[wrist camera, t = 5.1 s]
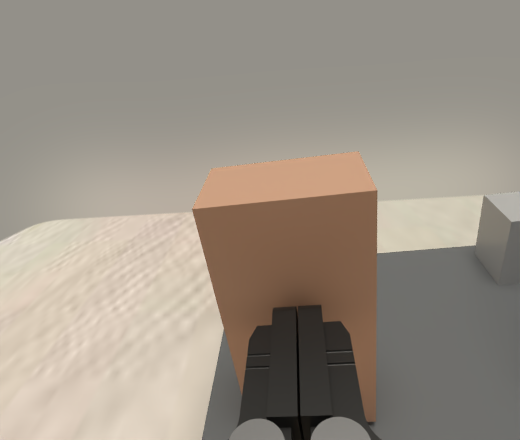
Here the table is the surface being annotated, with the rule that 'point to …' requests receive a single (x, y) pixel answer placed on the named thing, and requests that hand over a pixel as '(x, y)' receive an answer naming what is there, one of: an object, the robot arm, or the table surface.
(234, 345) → the orange rectangular block
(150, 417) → the table surface
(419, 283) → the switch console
